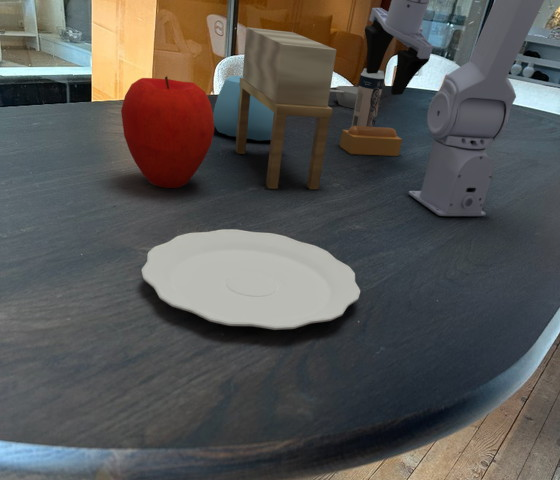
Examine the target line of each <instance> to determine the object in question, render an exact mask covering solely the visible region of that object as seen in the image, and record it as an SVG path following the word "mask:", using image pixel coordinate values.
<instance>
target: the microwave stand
mask: <svg viewBox="0 0 560 480" xmlns="http://www.w3.org/2000/svg"><path fill="white" fill-rule="evenodd" d="M245 29H246V30H245V41H244V54H243V65H242V76H243V78H240V83H239V86H240V96H239V110H238V123H237V136H236V137H235V152H236V154H239V155H240V154H241V155H242V154H243V155H245V154H246V148H247V128H248V116H249V104H250V94H251V95H252V96H253V97H255V98H256V99H257V100H258V101H260V102H261V103H262V104H264V105H265V106H266V107H267V108H269V109H270V110H271V111H273V112H274V115H273V124H272V134H271V140H270V144H269V153H268V161H267V162H268V163H267V172H266V180H265V186H266V187H267V188H268V189H274V190H275V189H276V190H277V189H279V180H280V171H281V165H282V154H283V147H284V139H285V130H286V122H287V116H292V117H293V116H294V117H306V118H307V117H309V118H316V120H315V126H314V127H315V128H314V135H313V141H312V146H311V147H312V148H311V153H310V160H309V161H310V162H309V169H308V173H307V182H306V187H307V188H308V189H309V190H319V188H320V182H321V176H322V169H323V164H324V159H325V158H324V157H325V150H326V145H327V138H328V133H329V125H330V119H332V115H333V110H334V109H333V108H332V107H330V106H329V100H330V93H331V92H330V90H331V87H332V82H333V74H334V69H335V61H336V56H337V49H336V48H333V47H330V46H329V45H325V44H323V43H321V42H318V41H316V40H313V39H310V38H308V37H305V36H304V35H300V34H298V33H296V32H293V31H282V30H274V29H265V28H257V27H248V26H247V27H245Z"/></svg>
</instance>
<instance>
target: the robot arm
mask: <svg viewBox="0 0 560 480" xmlns="http://www.w3.org/2000/svg"><path fill="white" fill-rule="evenodd" d="M544 2H545V0H494V2H493V4H492V6H491V9H490V11H489V13H488V16H487V18H486V19H485V23H484V25H483V27H482V29H481V32H480V34H479V37H478V38H477V41H476V43H475V46H474V48H473V50H472V52H471V55H470V58H469V60H468V61H467V62H466V63H464V64H463V65H461V66H460V67H458V68H456V69H455V70H452V71H451V72H449V73H448V74H447V75H446V76H445V78H444V80H443V83H442V84H441V87H440V88H439V89H438V91H437V92H436V93H435V95H434V96H433V98H432V99H431V101H430V103H429V106H428V109H427V116H426V124H427V128H428V130H429V131H428V132H429V133H430V138H432V139H434V140H433V144H432V148H431V151H430V155H429V159H428V163H427V166H426V170H425V174H424V178H423V182H422V185H421V190H409V191H408V195H409V196H410V197H412V198H413V199H415V200H416V201H417V202H419V203H420V204H422V205H423V206H424V207H426V208H427V209H429V210H430V211H431V212H433V213H435V215H437V216H440V217H485V216H486V214H487V213H486V212H485V211H484V210H483V208H484V205H485V202H486V199H487V196H488V193H489V189H490V186H491V184H492V180H493V177H494V172H495V171H494V169H495V167H494V162H493V160H492V159H491V158H490V157H489V156H488V155H487V151H486V148H487V149H488V148H491V147H492V144H493V142H494V141H496V140H498V139H499V138H500V137H501V136H502V135H503V133H504V131H505V129H506V127H507V125H508V121H509V118H510V112H511V109H512V106H513V104H514V102H515V100H516V98H517V94H516V92H515V89H514V86H513V84H512V82H511V80H510V79H509V78H508V77H509V73H510V71H511V69H512V68H513V65H514V63H515V62H516V59H517V57H518V55H519V53H520V52H521V49H522V46H523V45H524V43H525V41H526V39H527V36H528V35H529V32H530V31H531V28H532V26H533V24H534V23H535V21H536V18H537V16H538V14H539V12H540V11H541V9H542V6H543V4H544ZM429 4H430V0H391V1H390V5H389V8H388V11H387V10H385V9H383V8H382V7H372V8H371V12H370V14H369V18H368V20H369V21H370V22H371V23H372V24H371V25H365V28H364V34H365V38H366V72H367V73H368V74H373V73H377V72H378V71H379V70H380V69H381V66H382V63H383V61H384V57H385V55H386V52H387V50H388V49H389V46H390V45H391V44H392V41H393V39H394V38H395V39H396V40H398V41H399V42H400V43H402V44H403V45H404V46H406V47H407V48H408V49H398V50H397V52H396V69H395V74H394V75H395V76H394V78H393V82H392V85H391V90H390V93H391V95H393V96H399V95H403V94H404V92H405V90H406V89H407V87H408V85H409V84H410V83H411V81H412V79H413V78H414V77H415V75H416V74H417V73H418V72H419V71H420V70H421V69H422V68H423V67H424V66H425V65H426V64H428V62H429V61H430V58H431V55H432V52H433V49H434V45H433V44H432V43H431V42H430V41H428V39H427V38H426V36H425V35H424V34H423V30H424V29H423V27H422V23H423V20H424V18H425V15H426V13H427V9H428V6H429Z"/></svg>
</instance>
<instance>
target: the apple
mask: <svg viewBox="0 0 560 480" xmlns="http://www.w3.org/2000/svg"><path fill="white" fill-rule="evenodd" d="M213 113H214V111H213V108H212V104H211V101H210V99H209V97H208V95H207V93H206V91H205V90H203V88H201V87H200V86H199V85H198V84H196V83H195V82H192V81H180V80H175V79H169V78H168V75H166V76H164V78H155V77H154V78H153V77H141V78H139V79H137V80H136V81H134V82H133V83H131V84H130V86H129V88H128V90H127V91H126V93H125V95H124V98H123V102H122V106H121V110H120V114H121V122H122V130H123V137H124V140H125V142H126V145H127V148H128V151H129V153H130V156H131V157H132V159H133V161H134V163H135V165H136V166H137V167H138V169H139V171H140V172H141V174H142V175H143V176H144V177H145V178H146V180H147V181H148V182H149V183H150V184H151V185H153V186H155V187H159V188H166V189H178V188H181V187H183V186H185V185H187V184H189V182H190V180H191V179H192V178H193V176H194V175H195V174H196V172H197V171H198V169H199V168H200V166H201V165H202V163H203V161H204V160H205V158H206V156H207V154H208V151H209V150H210V147H211V146H212V143H213V137H214V134H215V125H214V119H213Z"/></svg>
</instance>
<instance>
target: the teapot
mask: <svg viewBox="0 0 560 480" xmlns="http://www.w3.org/2000/svg"><path fill="white" fill-rule="evenodd" d="M240 78H243V75H231V76H228V77H227V78H226V79H225V80H224V82H223V84H222V86H221V88H220V91H219V93H218V95H217V98H216V100H215V104H214V107H213V119H214V128H215V129H216V132H218V133H220V134H224V135H226V136H228V137H234V138H236V136H237V123H238V110H239V96H240V86H239V83H240ZM273 115H274V112H273V111H271V110H270V109H269V108H267V107H266V106H265V105H264V104H262V103H261V102H260V101H258V100H257V99H256V98H255V97H253V96H252V95H251V94H250V104H249V116H248V128H247V139H248V140H253V141H256V142H262V141H271V134H272V124H273ZM247 139H246V140H247Z"/></svg>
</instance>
